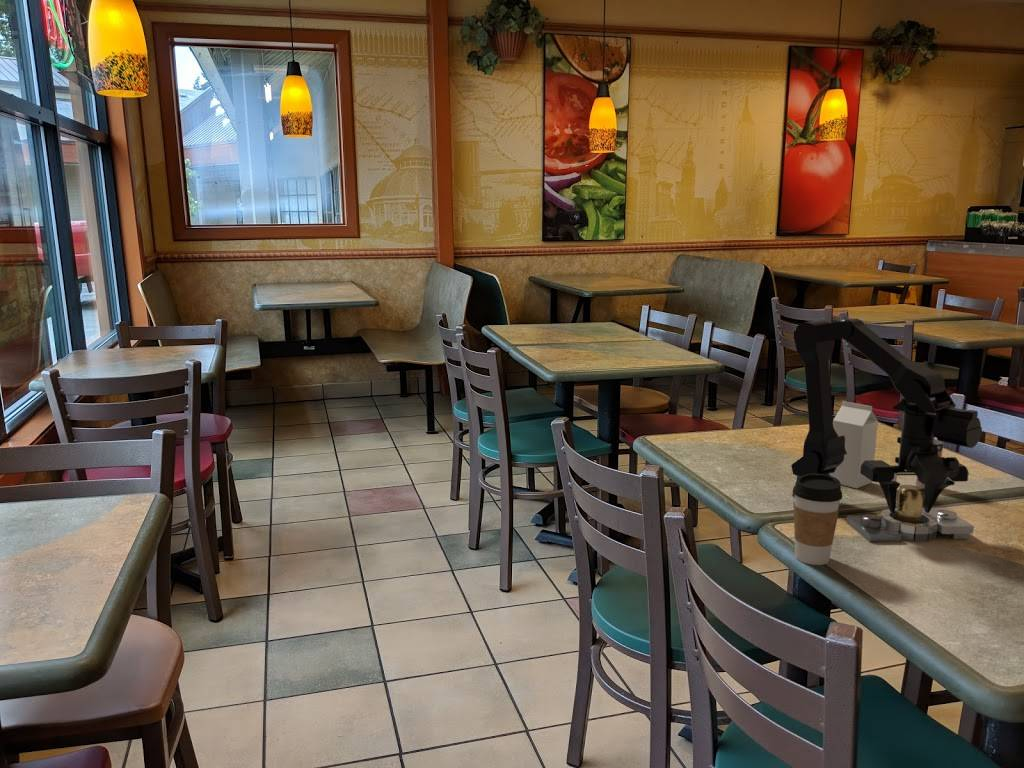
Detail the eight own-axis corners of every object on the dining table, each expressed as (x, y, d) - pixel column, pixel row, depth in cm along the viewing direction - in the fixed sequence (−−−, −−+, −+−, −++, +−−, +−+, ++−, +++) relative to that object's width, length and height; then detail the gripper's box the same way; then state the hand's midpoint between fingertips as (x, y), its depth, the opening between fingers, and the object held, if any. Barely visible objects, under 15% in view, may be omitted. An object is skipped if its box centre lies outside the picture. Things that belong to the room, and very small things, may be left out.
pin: (902, 536, 156) (906, 492, 154) (890, 527, 160) (895, 484, 158) (924, 535, 156) (929, 492, 154) (912, 527, 160) (917, 484, 158)
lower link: (869, 542, 153) (871, 527, 152) (846, 522, 162) (847, 508, 162) (946, 541, 153) (948, 526, 152) (919, 521, 163) (920, 507, 162)
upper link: (895, 541, 153) (897, 523, 152) (870, 522, 163) (872, 504, 162) (972, 540, 153) (974, 522, 152) (943, 521, 163) (945, 503, 162)
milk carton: (857, 489, 182) (864, 408, 178) (828, 481, 188) (834, 403, 184) (872, 483, 187) (879, 404, 183) (843, 475, 192) (850, 398, 188)
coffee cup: (843, 557, 146) (850, 479, 143) (826, 572, 140) (833, 491, 136) (798, 545, 151) (804, 469, 148) (780, 559, 145) (785, 480, 142)
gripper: (890, 448, 146) (882, 528, 149) (990, 447, 146) (980, 527, 149) (862, 432, 157) (855, 507, 160) (956, 431, 157) (947, 506, 160)
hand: (909, 512), depth 157 cm, fingers open, 7 cm apart
